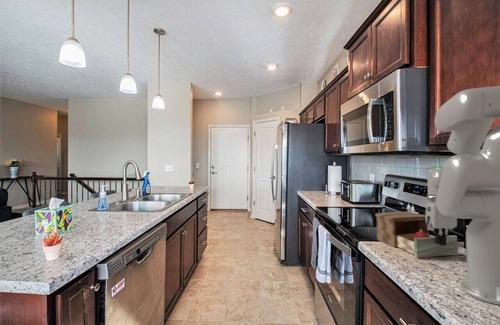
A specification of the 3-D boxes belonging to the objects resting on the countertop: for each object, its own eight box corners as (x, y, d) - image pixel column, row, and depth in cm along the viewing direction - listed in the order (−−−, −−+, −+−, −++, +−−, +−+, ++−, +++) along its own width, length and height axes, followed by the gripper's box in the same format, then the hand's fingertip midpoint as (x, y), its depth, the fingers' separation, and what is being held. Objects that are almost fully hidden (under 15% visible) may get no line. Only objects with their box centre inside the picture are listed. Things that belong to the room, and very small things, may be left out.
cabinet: (429, 245, 112) (428, 216, 112) (393, 247, 110) (392, 218, 110) (409, 237, 125) (408, 211, 125) (376, 239, 122) (375, 213, 122)
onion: (416, 244, 109) (415, 226, 109) (431, 247, 105) (431, 229, 105) (412, 247, 105) (411, 229, 105) (428, 250, 101) (427, 231, 101)
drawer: (457, 254, 99) (456, 236, 99) (417, 257, 97) (416, 239, 97) (427, 243, 114) (426, 227, 114) (391, 245, 111) (390, 229, 111)
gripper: (430, 201, 92) (432, 249, 92) (465, 199, 94) (466, 246, 94) (415, 198, 99) (416, 242, 99) (447, 196, 101) (448, 240, 101)
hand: (440, 244), depth 96 cm, fingers closed
